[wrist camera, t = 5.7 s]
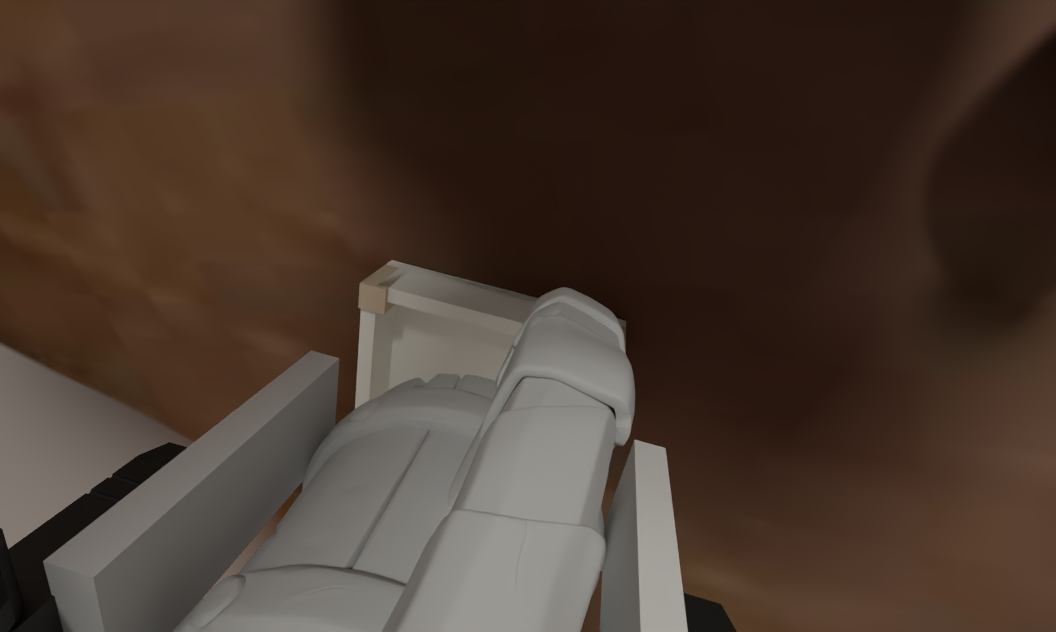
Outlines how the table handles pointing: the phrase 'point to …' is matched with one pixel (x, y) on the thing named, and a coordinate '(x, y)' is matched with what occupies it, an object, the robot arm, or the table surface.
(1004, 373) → the table surface
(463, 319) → the crate
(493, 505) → the mug
